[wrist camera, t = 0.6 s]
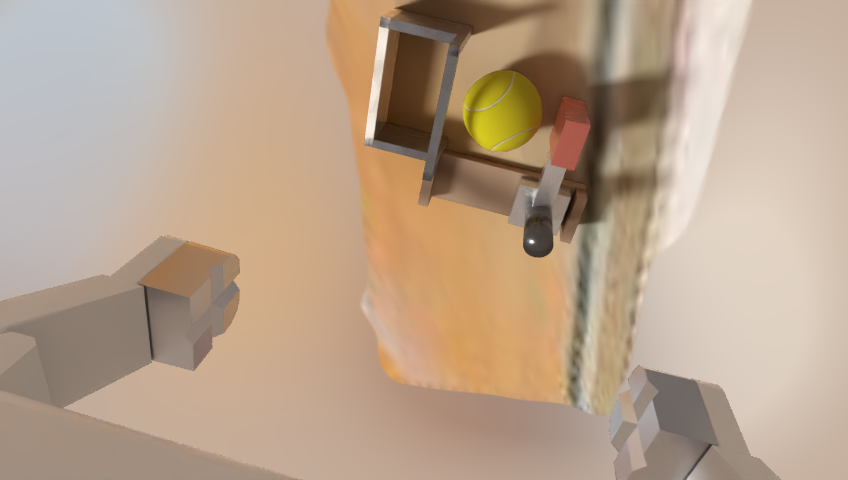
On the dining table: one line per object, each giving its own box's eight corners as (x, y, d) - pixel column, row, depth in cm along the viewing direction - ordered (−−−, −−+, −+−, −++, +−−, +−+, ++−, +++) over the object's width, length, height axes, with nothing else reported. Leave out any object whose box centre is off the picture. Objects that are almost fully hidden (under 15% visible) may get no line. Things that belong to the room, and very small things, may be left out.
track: (433, 146, 54) (426, 159, 51) (585, 184, 53) (587, 200, 50) (424, 189, 57) (417, 204, 54) (568, 226, 56) (570, 243, 53)
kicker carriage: (547, 92, 48) (548, 122, 41) (601, 105, 48) (611, 138, 41) (508, 213, 55) (503, 257, 48) (555, 225, 55) (558, 271, 48)
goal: (394, 8, 48) (367, 24, 40) (472, 26, 48) (459, 46, 40) (377, 127, 54) (351, 161, 47) (446, 144, 54) (430, 181, 46)
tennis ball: (454, 86, 51) (443, 108, 45) (520, 48, 48) (517, 66, 42) (490, 147, 53) (483, 175, 47) (555, 114, 50) (556, 139, 44)
